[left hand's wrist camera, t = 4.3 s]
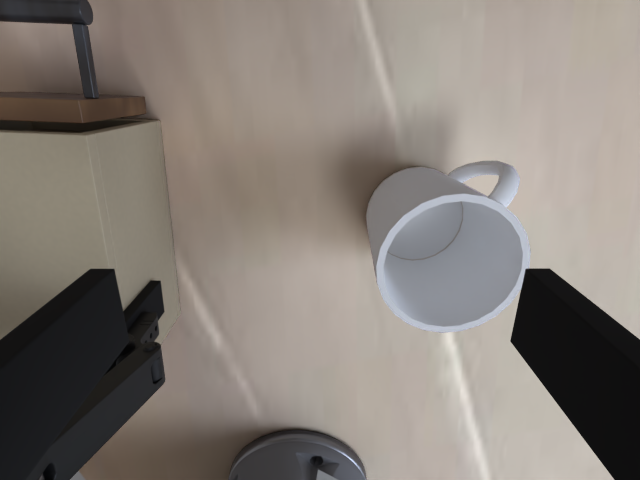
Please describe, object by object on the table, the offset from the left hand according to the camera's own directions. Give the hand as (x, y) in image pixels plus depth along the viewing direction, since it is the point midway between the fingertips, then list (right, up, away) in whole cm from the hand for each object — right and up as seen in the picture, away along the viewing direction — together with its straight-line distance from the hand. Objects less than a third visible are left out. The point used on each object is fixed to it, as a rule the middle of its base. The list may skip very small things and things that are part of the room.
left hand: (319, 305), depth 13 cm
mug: (+8, +5, +20) cm, 22 cm away
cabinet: (-18, +4, +20) cm, 27 cm away
